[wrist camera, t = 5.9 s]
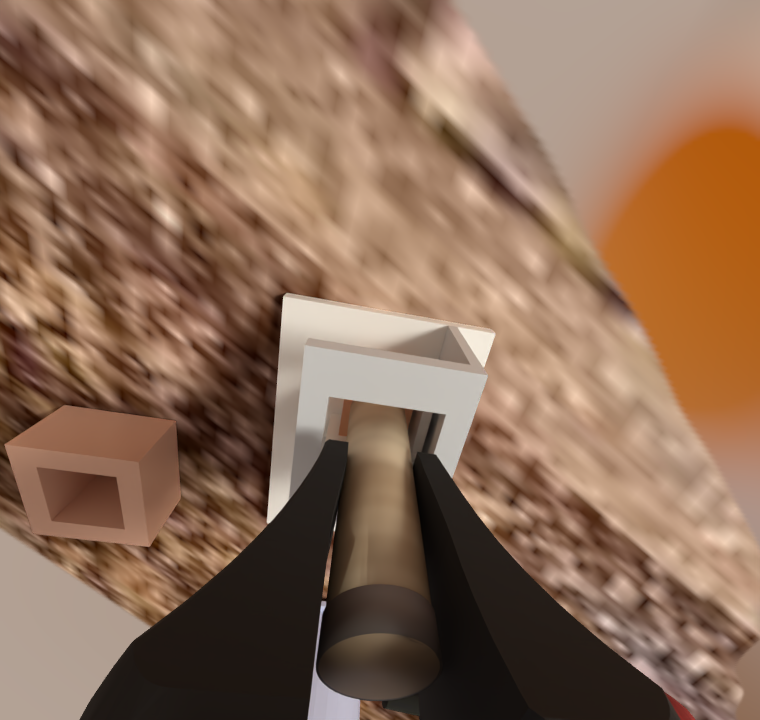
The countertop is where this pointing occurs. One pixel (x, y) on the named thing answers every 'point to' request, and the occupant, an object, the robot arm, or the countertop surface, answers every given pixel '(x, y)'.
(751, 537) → the countertop surface
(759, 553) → the countertop surface
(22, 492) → the stylus holder
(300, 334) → the square socket plate
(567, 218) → the countertop surface
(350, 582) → the stylus
